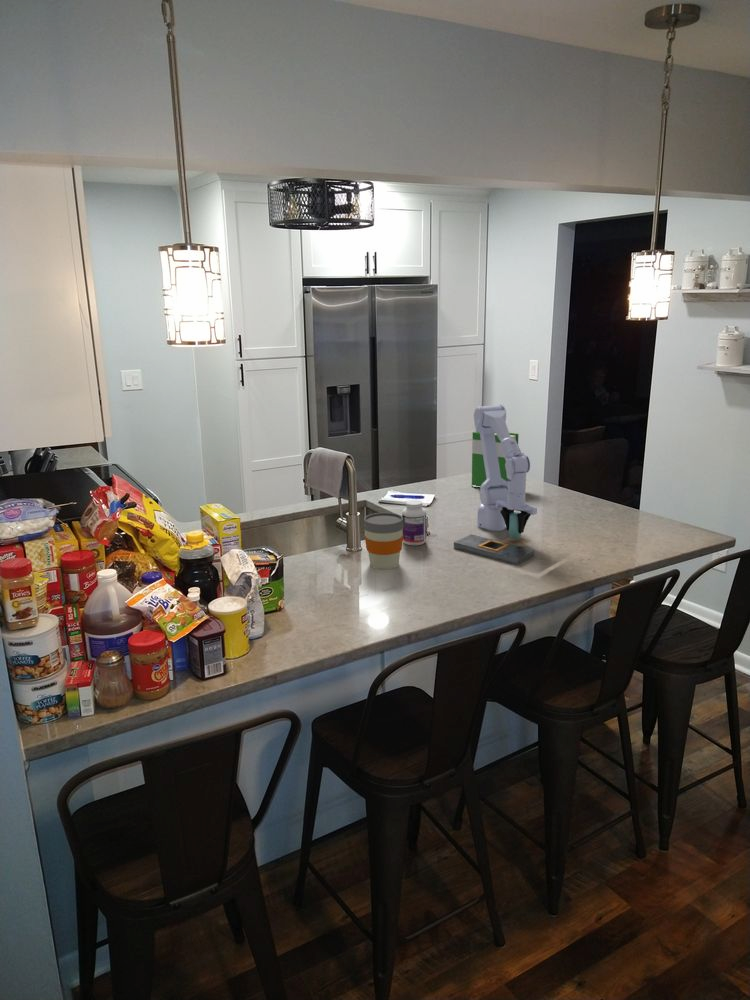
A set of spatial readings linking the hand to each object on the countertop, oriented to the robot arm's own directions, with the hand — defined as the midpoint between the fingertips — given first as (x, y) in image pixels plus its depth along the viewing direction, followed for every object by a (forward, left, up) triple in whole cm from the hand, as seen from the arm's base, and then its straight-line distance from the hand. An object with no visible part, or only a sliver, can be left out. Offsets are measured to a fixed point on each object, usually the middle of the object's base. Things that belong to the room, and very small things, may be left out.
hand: (515, 531), depth 237 cm
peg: (0, 0, -2) cm, 2 cm away
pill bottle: (-27, -20, -5) cm, 34 cm away
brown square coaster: (0, 0, -5) cm, 5 cm away
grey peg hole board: (0, -13, -5) cm, 14 cm away
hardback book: (-44, +55, -5) cm, 71 cm away
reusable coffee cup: (-22, -41, -5) cm, 47 cm away
